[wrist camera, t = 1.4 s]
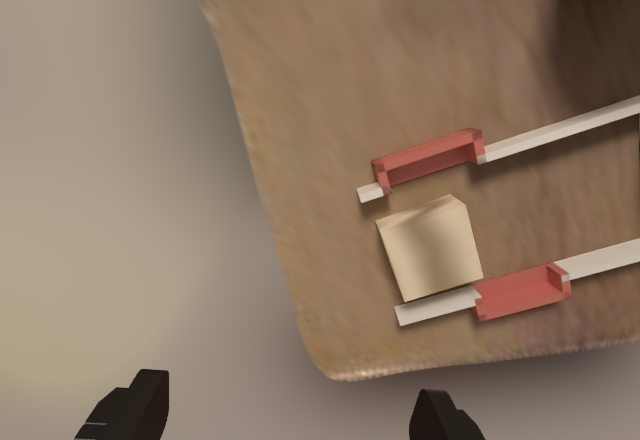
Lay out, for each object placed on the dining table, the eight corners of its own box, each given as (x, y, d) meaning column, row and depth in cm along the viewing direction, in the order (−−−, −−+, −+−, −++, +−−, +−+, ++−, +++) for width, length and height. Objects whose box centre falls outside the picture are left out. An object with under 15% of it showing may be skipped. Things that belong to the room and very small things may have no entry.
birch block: (449, 193, 33) (465, 205, 29) (466, 259, 35) (483, 277, 32) (374, 219, 34) (381, 234, 30) (396, 281, 36) (404, 302, 33)
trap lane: (652, 65, 28) (717, 57, 24) (653, 258, 35) (705, 282, 30) (349, 168, 32) (354, 179, 27) (400, 327, 38) (410, 358, 33)
